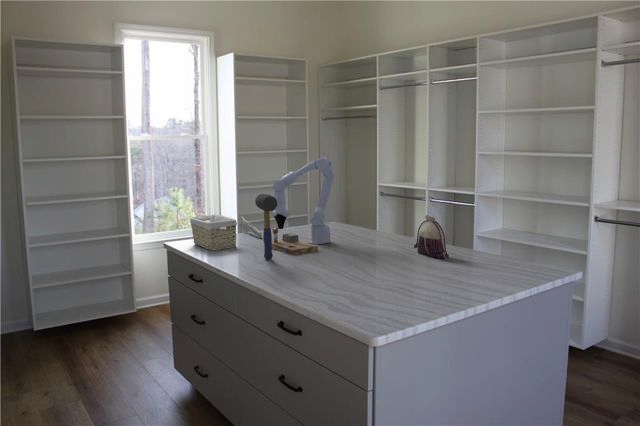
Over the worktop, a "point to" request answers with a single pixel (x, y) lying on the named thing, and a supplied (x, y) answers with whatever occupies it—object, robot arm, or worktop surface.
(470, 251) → the worktop surface
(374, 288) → the worktop surface
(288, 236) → the block
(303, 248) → the board
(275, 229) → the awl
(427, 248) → the pouch
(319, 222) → the robot arm
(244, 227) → the gun
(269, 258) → the rubber mallet
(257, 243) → the worktop surface
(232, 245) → the storage basket
